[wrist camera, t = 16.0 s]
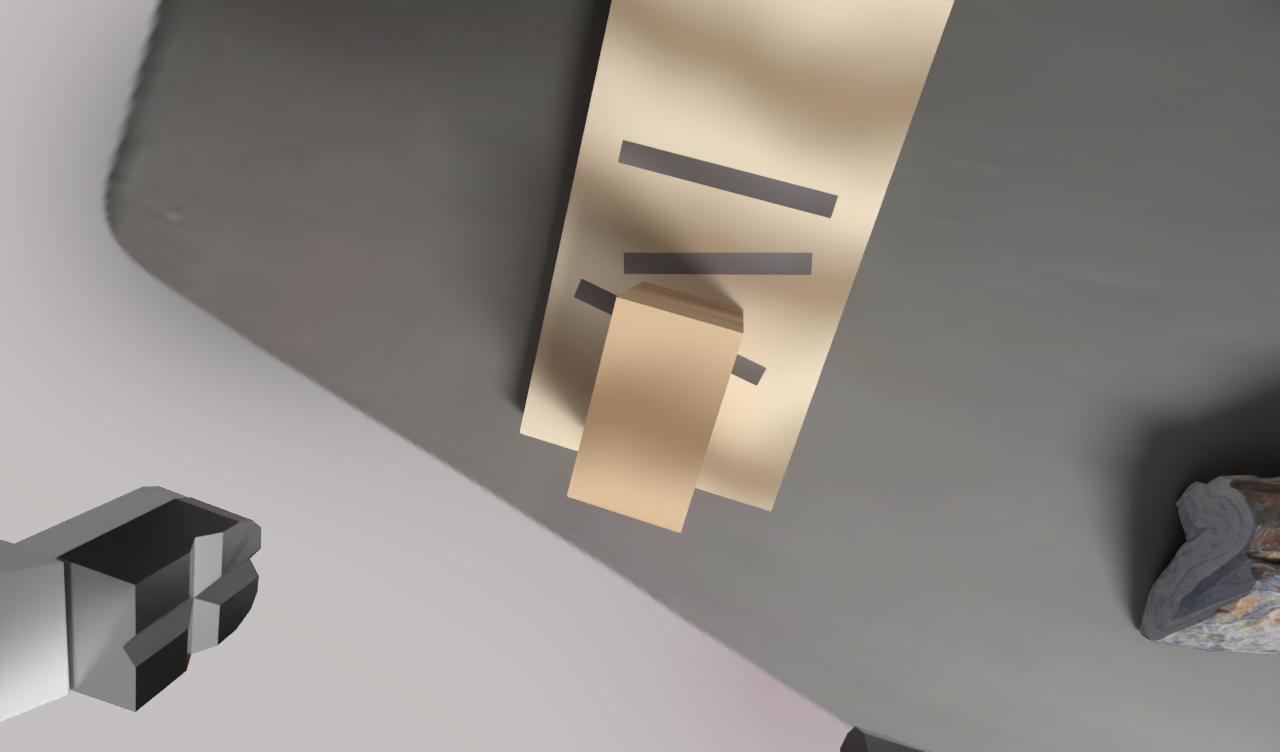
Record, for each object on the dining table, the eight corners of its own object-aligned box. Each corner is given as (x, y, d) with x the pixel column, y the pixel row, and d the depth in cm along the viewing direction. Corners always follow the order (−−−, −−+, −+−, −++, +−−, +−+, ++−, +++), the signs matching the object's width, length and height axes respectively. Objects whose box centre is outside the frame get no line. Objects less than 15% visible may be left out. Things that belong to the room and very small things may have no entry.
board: (642, -86, 21) (635, -109, 20) (951, -18, 20) (967, -36, 19) (531, 421, 27) (519, 433, 25) (769, 495, 26) (771, 511, 24)
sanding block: (642, 281, 23) (616, 297, 18) (743, 310, 23) (743, 333, 18) (600, 443, 25) (566, 496, 20) (692, 472, 25) (680, 533, 20)
